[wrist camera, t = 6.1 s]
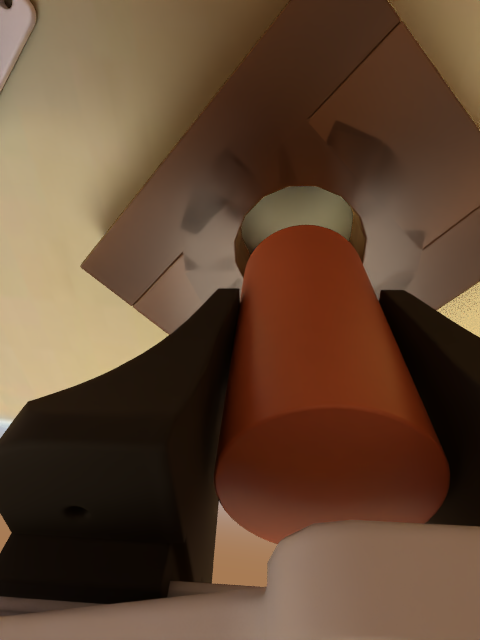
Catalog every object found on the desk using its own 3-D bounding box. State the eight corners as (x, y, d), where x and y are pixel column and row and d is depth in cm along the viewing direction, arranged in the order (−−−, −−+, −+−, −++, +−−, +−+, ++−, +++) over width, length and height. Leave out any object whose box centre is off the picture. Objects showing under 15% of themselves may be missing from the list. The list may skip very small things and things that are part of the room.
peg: (220, 280, 14) (167, 483, 7) (307, 197, 12) (345, 362, 5) (298, 348, 15) (316, 574, 8) (387, 282, 13) (499, 499, 7)
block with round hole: (104, 240, 20) (78, 266, 17) (329, -41, 13) (341, -66, 11) (276, 379, 23) (276, 417, 21) (512, 209, 17) (552, 233, 15)
